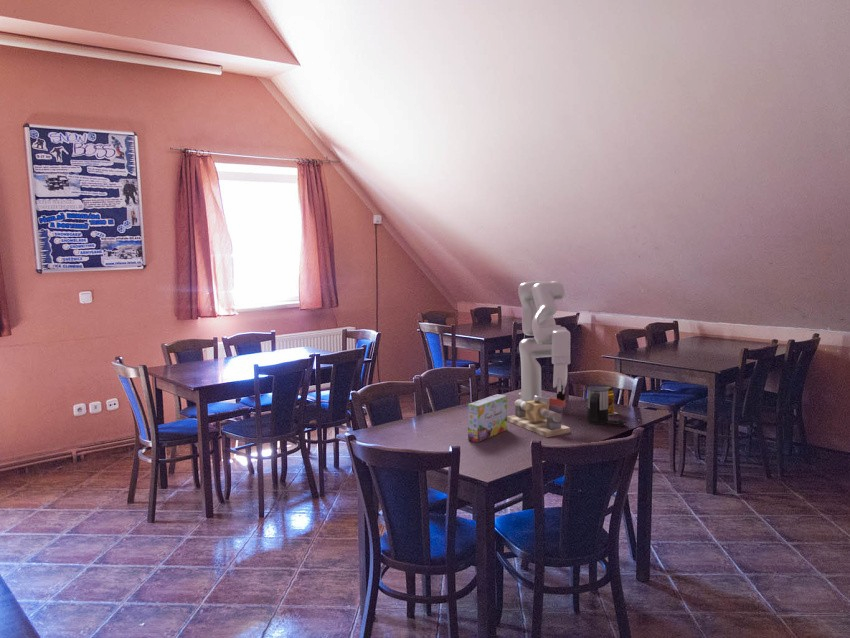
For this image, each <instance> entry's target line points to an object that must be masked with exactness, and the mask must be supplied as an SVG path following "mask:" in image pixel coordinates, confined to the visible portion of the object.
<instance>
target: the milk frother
mask: <svg viewBox="0 0 850 638" xmlns="http://www.w3.org/2000/svg"><path fill="white" fill-rule="evenodd" d="M608 390H609V388H607V387H603V386H599V385H597V386H595V385H594V386H588V387H587V419H586V422H587V423H589V424H591V425H592V424H593V425H607V424H618V425H619V426H620V425H622V426H624V424H627V421H626V420H624V419H623V418H622V419H621V418H619V419H618V420H616V419H610V420H609V415H608Z"/></svg>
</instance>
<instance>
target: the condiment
mask: <svg viewBox="0 0 850 638" xmlns="http://www.w3.org/2000/svg"><path fill="white" fill-rule="evenodd" d="M602 387H607V388H609V390H608V416H614V415H616V414H617V415H618V412H616V411H615V394H614V387H612V386H609V385H605V386H602Z"/></svg>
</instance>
